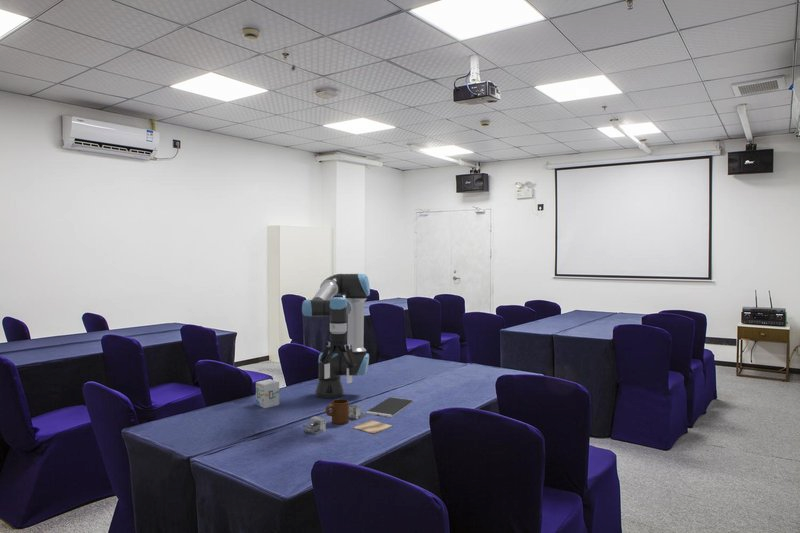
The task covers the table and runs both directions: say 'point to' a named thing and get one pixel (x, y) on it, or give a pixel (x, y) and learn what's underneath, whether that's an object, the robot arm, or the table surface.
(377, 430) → the coaster
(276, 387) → the ink box
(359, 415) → the grey angular pieces
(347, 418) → the mug
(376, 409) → the smartphone
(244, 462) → the table surface
